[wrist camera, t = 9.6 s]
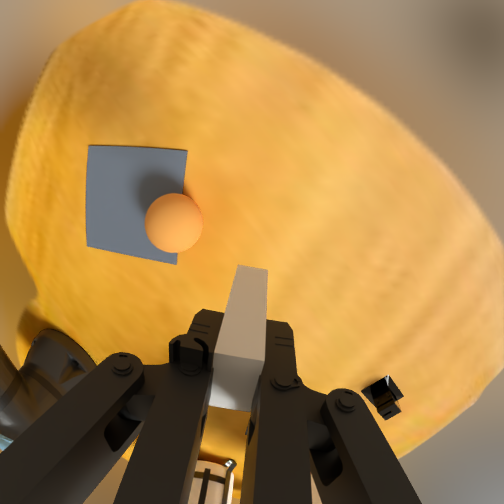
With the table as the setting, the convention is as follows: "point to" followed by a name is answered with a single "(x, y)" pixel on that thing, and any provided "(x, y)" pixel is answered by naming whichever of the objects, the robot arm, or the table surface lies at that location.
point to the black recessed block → (384, 397)
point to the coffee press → (212, 483)
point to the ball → (173, 223)
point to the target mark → (129, 196)
